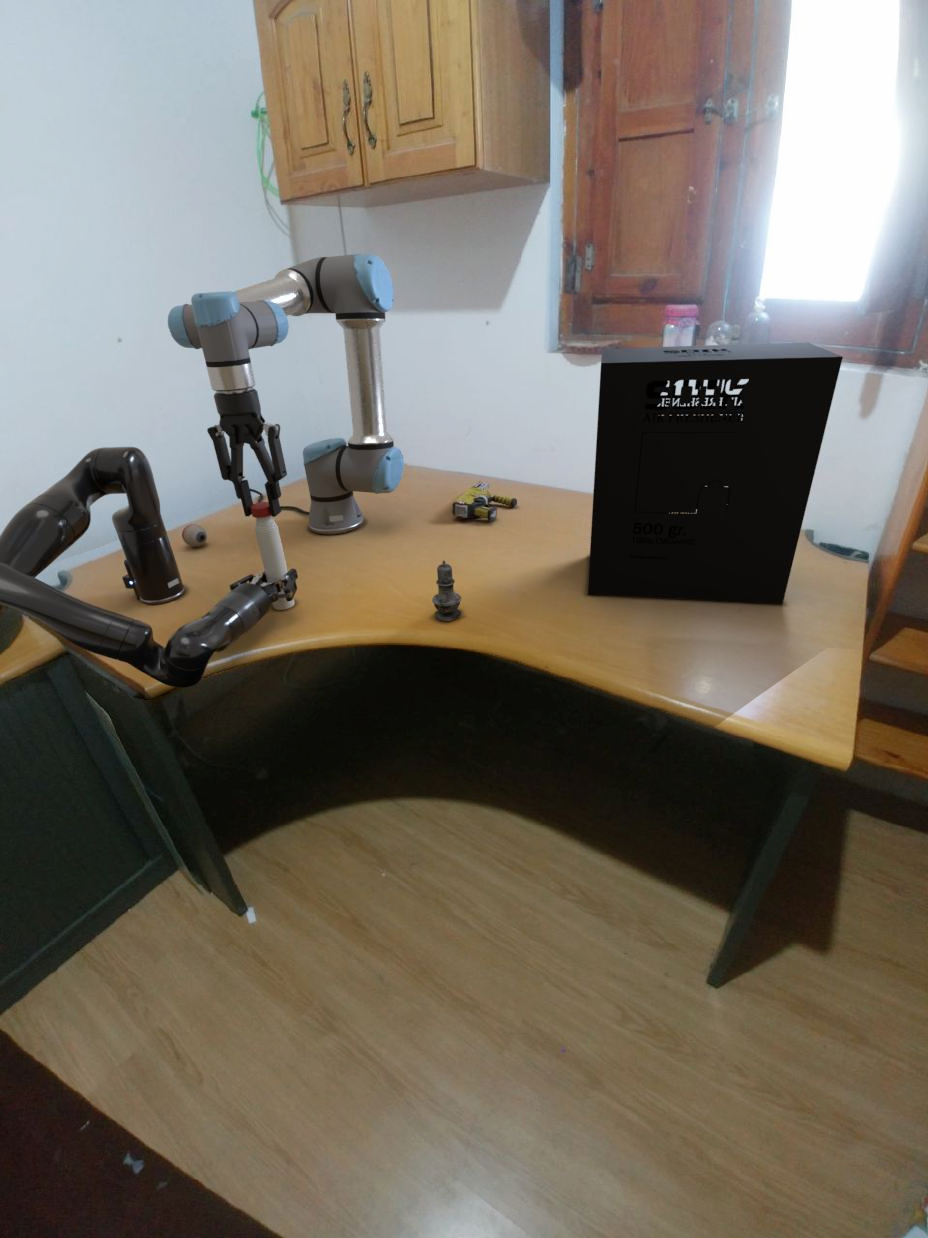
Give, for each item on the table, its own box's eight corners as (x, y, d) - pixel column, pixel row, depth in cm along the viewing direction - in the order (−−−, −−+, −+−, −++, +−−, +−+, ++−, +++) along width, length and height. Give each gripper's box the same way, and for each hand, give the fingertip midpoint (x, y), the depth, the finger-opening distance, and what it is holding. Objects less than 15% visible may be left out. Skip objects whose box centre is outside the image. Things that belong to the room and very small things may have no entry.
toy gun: (525, 486, 181) (478, 479, 184) (503, 510, 160) (450, 501, 164) (523, 501, 183) (477, 494, 187) (501, 526, 163) (450, 518, 167)
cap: (249, 518, 117) (247, 509, 116) (256, 510, 121) (254, 502, 120) (270, 517, 117) (268, 508, 116) (276, 509, 121) (274, 501, 120)
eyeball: (196, 552, 157) (189, 530, 154) (181, 548, 160) (174, 526, 157) (215, 543, 161) (209, 522, 158) (200, 540, 165) (193, 519, 162)
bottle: (292, 609, 128) (271, 511, 117) (271, 610, 127) (248, 513, 117) (296, 599, 131) (275, 503, 121) (275, 601, 131) (253, 505, 120)
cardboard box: (760, 561, 136) (807, 342, 113) (782, 604, 118) (842, 356, 96) (590, 554, 143) (602, 348, 121) (587, 594, 126) (601, 362, 104)
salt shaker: (459, 622, 119) (455, 567, 113) (430, 620, 120) (425, 566, 114) (464, 608, 124) (461, 554, 118) (437, 606, 125) (432, 553, 119)
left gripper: (212, 624, 118) (258, 585, 132) (278, 630, 114) (317, 589, 129) (202, 590, 114) (250, 553, 128) (269, 595, 111) (311, 557, 125)
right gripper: (290, 384, 109) (313, 507, 121) (200, 387, 112) (230, 507, 124) (272, 392, 103) (298, 521, 114) (177, 395, 106) (211, 520, 117)
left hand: (284, 571), depth 128 cm, fingers closed on bottle, 4 cm apart
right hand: (263, 513), depth 119 cm, fingers open, 5 cm apart
